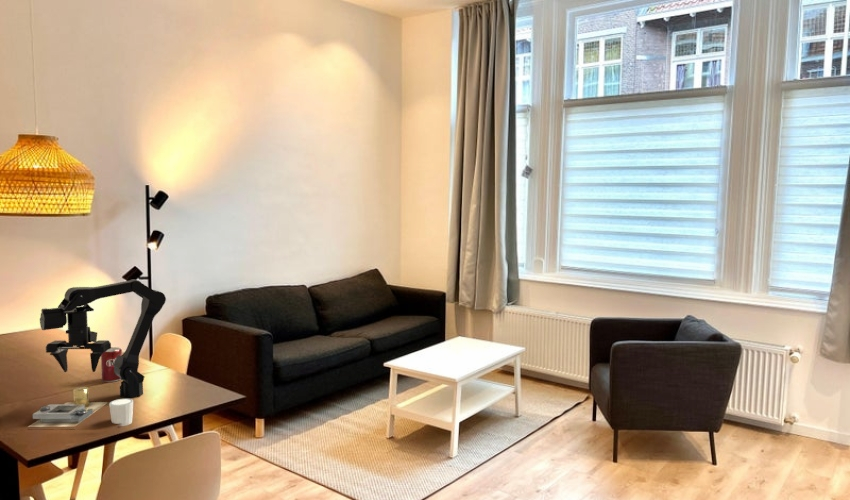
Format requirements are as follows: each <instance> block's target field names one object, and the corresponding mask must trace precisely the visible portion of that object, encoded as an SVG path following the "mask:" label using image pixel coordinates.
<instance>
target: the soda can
mask: <svg viewBox="0 0 850 500" xmlns="http://www.w3.org/2000/svg"><path fill="white" fill-rule="evenodd" d="M118 354H119V355H122V354H123V349H122V348H121V347H116V346H113V347H112V346H111V348H110V349H108V350H107V351H106V352H104V353H102V355H101V357H100V367H101V369H100V371H101V380H102V381H103V382H104V383H114V382H118V381H122V380H121V379H120V377H119V376H117V375H116V374H115V372H114V366H113V364H114V363H115V361H116V358H117V355H118Z"/></svg>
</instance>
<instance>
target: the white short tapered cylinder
mask: <svg viewBox="0 0 850 500" xmlns="http://www.w3.org/2000/svg"><path fill="white" fill-rule="evenodd" d="M108 405H109V412H110V413H109V414H110V420H111V423H112V424H117V425H118V426H117V427H127V426H128V425H131V424H132V423H133V411H134V400H133V398H118V399H115V400H112V401H110V402H108Z"/></svg>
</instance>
